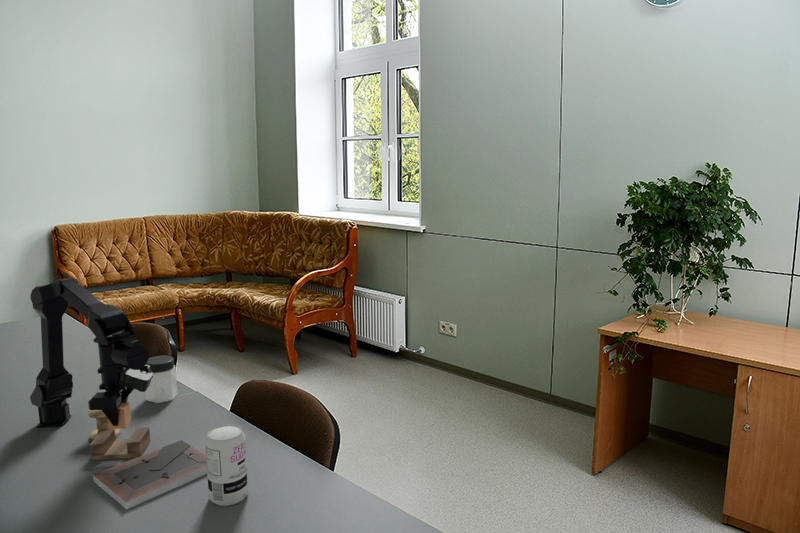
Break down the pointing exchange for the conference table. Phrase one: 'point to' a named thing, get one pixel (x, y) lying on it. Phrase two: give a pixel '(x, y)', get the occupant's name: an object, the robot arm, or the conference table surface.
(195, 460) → the picture frame
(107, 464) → the conference table surface
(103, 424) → the spool
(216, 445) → the supplement can
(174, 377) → the jar
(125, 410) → the light brown wooden block
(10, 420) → the conference table surface
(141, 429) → the notch board
